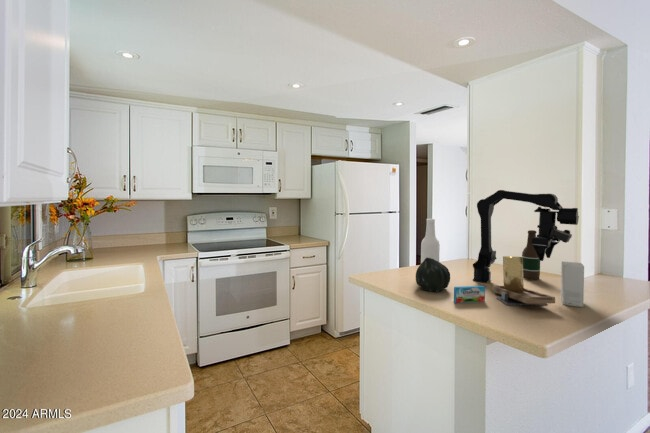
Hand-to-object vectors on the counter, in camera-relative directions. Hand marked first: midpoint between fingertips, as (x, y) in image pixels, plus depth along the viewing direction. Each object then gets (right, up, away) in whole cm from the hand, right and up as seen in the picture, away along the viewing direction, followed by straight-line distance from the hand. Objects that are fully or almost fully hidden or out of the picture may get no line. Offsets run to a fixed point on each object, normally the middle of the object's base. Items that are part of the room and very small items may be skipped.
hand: (545, 259), depth 139 cm
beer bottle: (+8, -13, +23) cm, 27 cm away
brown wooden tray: (-18, -13, -12) cm, 25 cm away
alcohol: (-42, -13, +24) cm, 50 cm away
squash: (-46, -14, +6) cm, 49 cm away
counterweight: (-18, -12, -7) cm, 23 cm away
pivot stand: (-17, -15, -12) cm, 26 cm away
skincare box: (+1, -15, -14) cm, 21 cm away
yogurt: (-38, -16, -12) cm, 42 cm away
